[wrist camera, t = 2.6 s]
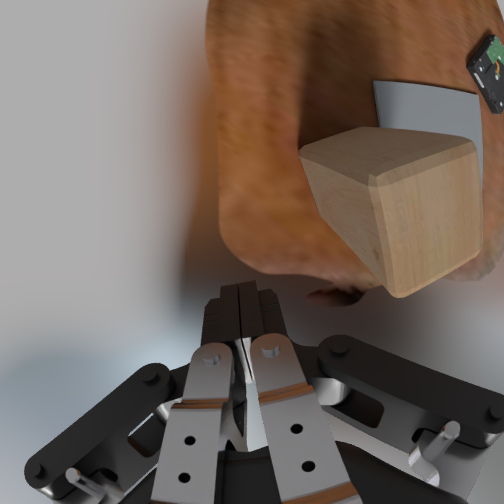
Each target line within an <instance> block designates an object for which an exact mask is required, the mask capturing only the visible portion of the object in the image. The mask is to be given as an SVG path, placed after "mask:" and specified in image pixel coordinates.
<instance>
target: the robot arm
mask: <svg viewBox="0 0 504 504" xmlns="http://www.w3.org/2000/svg"><path fill="white" fill-rule="evenodd" d="M251 373H252V374H251ZM252 376H253V380H254V382H255V383H256V387H257V392H258V400H259V405H260V410H261V415H262V419H263V424H264V428H265V433H266V437H267V442H268V446H266V447H263V448H260V449H257V450H254V451H251V452H248V448H247V397H246V384H247V383H252ZM322 409H323V410H325V411H326V412H328V413H330V414H331V415H333V416H335V417H337V418H338V419H340V420H342V421H344V422H346V423H348V424H349V425H351V426H353V427H355V428H357V429H359V430H361V431H363V432H365V433H366V434H368V435H370V436H372V437H374V438H376V439H378V440H380V441H382V442H384V443H387V444H389V445H391V446H393V447H395V448H397V449H399V450H401V451H404V452H406V453H408V454H409V458H408V461H409V465H410V468H411V469H412V470H413V471H414V472H415V473H417V474H418V475H420V476H421V477H422V478H423V480H424V481H425V482H424V481H422V480H420V479H418V478H416V477H414V476H412V475H409V474H407V473H405V472H403V471H401V470H399V469H397V468H396V467H394V466H392V465H390V464H388V463H386V462H384V461H382V460H380V459H379V458H377V457H375V456H373V455H371V454H370V453H368V452H366V451H364V450H363V449H361V448H359V447H356V446H354V445H352V444H348V443H345V442H340V441H334V438H333V436H332V433H331V431H330V428H329V426H328V423H327V421H326V418H325V416H324V413H323V411H322ZM151 413H153V414H154V415H153V416H151V417H150V418H149V419H148V420H147V421H146V422H145V423H144V424H143V425H142V426H141V427H139V428H138V429H137V430H136V431H135V432H134V433H133V434H132V435H130V436H128V435H129V433H130V432H131V431H132V430H134V429H135V428H136V427H137V426H138V425H139V424H140V423H141V422H142V421H144V420H145V419H146V418H147V417H148V416H149V415H150V414H151ZM503 433H504V395H502V394H500V393H497V392H494V391H491V390H488V389H485V388H482V387H479V386H476V385H473V384H471V383H468V382H465V381H462V380H459V379H457V378H454V377H451V376H448V375H446V374H443V373H440V372H438V371H435V370H432V369H430V368H427V367H425V366H422V365H419V364H417V363H414V362H412V361H409V360H407V359H404V358H401V357H399V356H397V355H394V354H392V353H389V352H387V351H384V350H382V349H379V348H377V347H374V346H372V345H369V344H367V343H364V342H362V341H360V340H358V339H355V338H353V337H350V336H347V335H334V336H330V337H328V338H326V339H324V340H323V341H322V342H321V343H320V344H319V346H318V347H309V346H302V345H299V344H296V343H294V342H293V341H292V340H291V339H289V337H288V335H287V331H286V327H285V323H284V320H283V316H282V312H281V308H280V304H279V301H278V297H277V294H276V293H274V292H273V291H272V290H271V289H266V290H261V291H258V289H257V284H256V280H250V281H245V282H239V285H238V283H234V284H228V285H223V286H221V290H220V298H215V299H210V301H209V302H208V304H207V305H206V306H205V311H204V319H203V328H202V338H201V346H200V348H198V349H197V350H196V351H195V352H194V353H193V355H192V358H191V362H190V363H188V364H187V365H185V366H182V367H179V368H177V369H173V370H171V371H169V369H168V368H167V367H166V366H165V365H163V364H160V363H151V364H148V365H145V366H143V367H142V368H140V369H139V370H137V371H136V372H135V373H134V374H133V375H132V376H130V377H129V378H128V379H127V380H126V381H124V382H123V383H122V384H121V385H120V386H118V387H117V388H116V389H115V390H114V391H112V392H111V393H110V394H109V395H107V396H106V397H105V398H104V399H103V400H102V401H100V402H99V403H98V404H97V405H95V406H94V407H93V408H92V409H91V410H89V411H88V412H87V413H85V414H84V415H83V416H82V417H81V418H79V419H78V420H77V421H76V422H74V423H73V424H72V425H71V426H70V427H68V428H67V429H66V430H65V431H64V432H62V433H61V434H60V435H58V436H57V437H56V438H55V439H53V440H52V441H51V442H50V443H48V444H47V445H46V446H44V447H43V448H42V449H41V450H39V451H38V452H37V453H36V454H34V455H33V456H32V457H31V458H30V459H29V460H28V461H27V463H26V465H25V469H24V475H25V479H26V481H27V483H28V484H29V485H30V486H31V487H33V488H34V489H36V490H38V491H39V492H41V493H43V494H44V495H46V496H47V497H48V498H50V499H51V500H52V501H53V503H54V504H468V502H467V501H466V500H467V498H468V496H469V494H470V492H471V490H472V488H473V486H474V484H475V482H476V480H477V478H478V476H479V473H480V471H481V469H482V466H483V464H484V462H485V459H486V457H487V454H488V452H489V449H490V447H491V445H492V444H493V443H494V442H495V441H496V440H497V439H498V438H499V437H500V436H501V435H502V434H503ZM157 463H158V466H157V467H156V468H155V469H154V470H152V471H151V472H150V473H149V474H148V475H147V476H146V477H145V478H144V479H143V480H142V481H141V482H140V483H139V484H138V485H137V486H136V487H135V488H134V489H133V490H132V491H131V492H129V493H128V494H127V495H126V496H124V493H125V492H126V491H127V490H128V489H129V488H130V487H131V486H133V485H134V484H135V483H136V482H137V481H138V480H139V479H140V478H142V477H143V476H144V475H145V474H146V473H147V472H148V471H149V470H150V469H151V468H152V467H154V466H155V465H156V464H157Z"/></svg>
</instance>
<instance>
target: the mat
mask: <svg viewBox="0 0 504 504" xmlns="http://www.w3.org/2000/svg"><path fill="white" fill-rule="evenodd" d="M372 82H373V88H374V94H375V101H376V108H377V116H378V124H379V128H395V129H407V130H417V131H426V132H434V133H442V134H449V135H455V136H461V137H465V138H468V139H470V140H472V141H473V142H474V143H475V146H476V148H477V151H478V159H479V167H480V176H481V188H482V175H483V145H482V125H481V113H480V104H479V96H478V95H475V94H470V93H466V92H461V91H456V90H451V89H445V88H439V87H433V86H426V85H419V84H410V83H400V82H388V81H372Z"/></svg>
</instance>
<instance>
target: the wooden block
mask: <svg viewBox="0 0 504 504" xmlns="http://www.w3.org/2000/svg"><path fill="white" fill-rule="evenodd" d="M299 157H300V160H301V163H302V165H303V168H304V171H305V174H306V176H307V179H308V182H309V185H310V188H311V191H312V194H313V196H314V199H315V202H316V205H317V208H318V211H319V214H320V216H321V217H322V218H323V219H324V220H325V221H326V222H327V223H328V224H329V226H330V227H331V228H332V229H333V230H334V231H335V232H336V233H337V234H338V235H339V236H340V237H341V238H342V239H343V240H344V241H345V243H346V244H347V245H348V246H349V247H350V248H351V249H352V250H353V251H354V252H355V253H356V255H357V256H358V257H359V258H360V259H361V260H362V261H363V262H364V263H365V265H366V266H367V267H368V268H369V269H370V270H371V271H372V273H373V274H374V275H375V276H376V277H377V278H378V279H379V281H380V282H381V283H382V284H383V285H384V286H385V288H386V289H387V290H388V291H389V292H390V294H391V295H392V296H394V297H396V298H402V297H406V296H408V295H410V294H412V293H414V292H415V291H417V290H419V289H421V288H423V287H425V286H427V285H428V284H430V283H432V282H434V281H435V280H437V279H439V278H441V277H443V276H444V275H446V274H448V273H450V272H451V271H453V270H455V269H456V268H458V267H460V266H461V265H463V264H465V263H466V262H468V261H469V260H471V259H473V258H474V257H476V256H477V255H478V254H479V252H480V251H481V248H482V245H483V206H482V188H481V176H480V167H479V159H478V151H477V148H476V146H475V143H474V142H473V141H472V140H470V139H468V138H465V137H461V136H455V135H449V134H442V133H434V132H426V131H417V130H407V129H395V128H379V127H358V128H355V129H352V130H349V131H346V132H342V133H339V134H336V135H333V136H330V137H327V138H324V139H321V140H319V141H316V142H313V143H310V144H307V145H304V146H303V147H302V148H301V149H300V150H299Z"/></svg>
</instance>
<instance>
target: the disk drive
mask: <svg viewBox="0 0 504 504" xmlns="http://www.w3.org/2000/svg"><path fill="white" fill-rule="evenodd" d="M466 68H467V69H468V71H469V73H470V74H471V76H472V78H473V79H474V81H475V83H476V84H477V86H478V88H479V90H480V91H481V93H482V95H483V97H484V99H485V101H486V103H487V105H488V106H489V108H490V110H491V112H492V114H501V112H502V111H503V109H504V47H503V45H502V44H501V42H500V40H499V37H498V36H495V35H489V36H488V38H487V39H486V40H485V42H484V43H483V45H482V46H481V47H480V49H479V50H478V51H477V53H476V54H475V56H474V57H473V58H472V60H470V62H469V63H468V65H467V66H466Z"/></svg>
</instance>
